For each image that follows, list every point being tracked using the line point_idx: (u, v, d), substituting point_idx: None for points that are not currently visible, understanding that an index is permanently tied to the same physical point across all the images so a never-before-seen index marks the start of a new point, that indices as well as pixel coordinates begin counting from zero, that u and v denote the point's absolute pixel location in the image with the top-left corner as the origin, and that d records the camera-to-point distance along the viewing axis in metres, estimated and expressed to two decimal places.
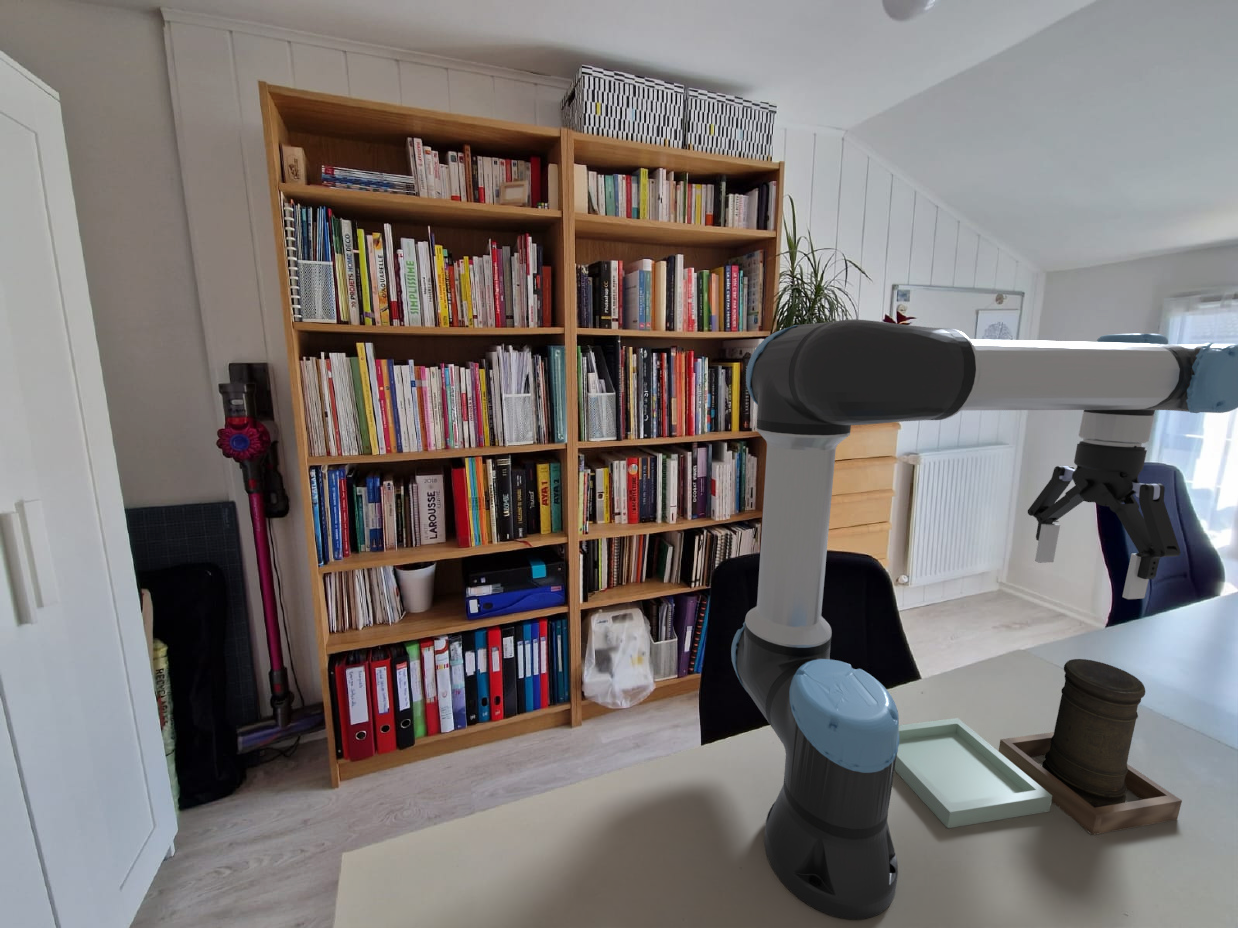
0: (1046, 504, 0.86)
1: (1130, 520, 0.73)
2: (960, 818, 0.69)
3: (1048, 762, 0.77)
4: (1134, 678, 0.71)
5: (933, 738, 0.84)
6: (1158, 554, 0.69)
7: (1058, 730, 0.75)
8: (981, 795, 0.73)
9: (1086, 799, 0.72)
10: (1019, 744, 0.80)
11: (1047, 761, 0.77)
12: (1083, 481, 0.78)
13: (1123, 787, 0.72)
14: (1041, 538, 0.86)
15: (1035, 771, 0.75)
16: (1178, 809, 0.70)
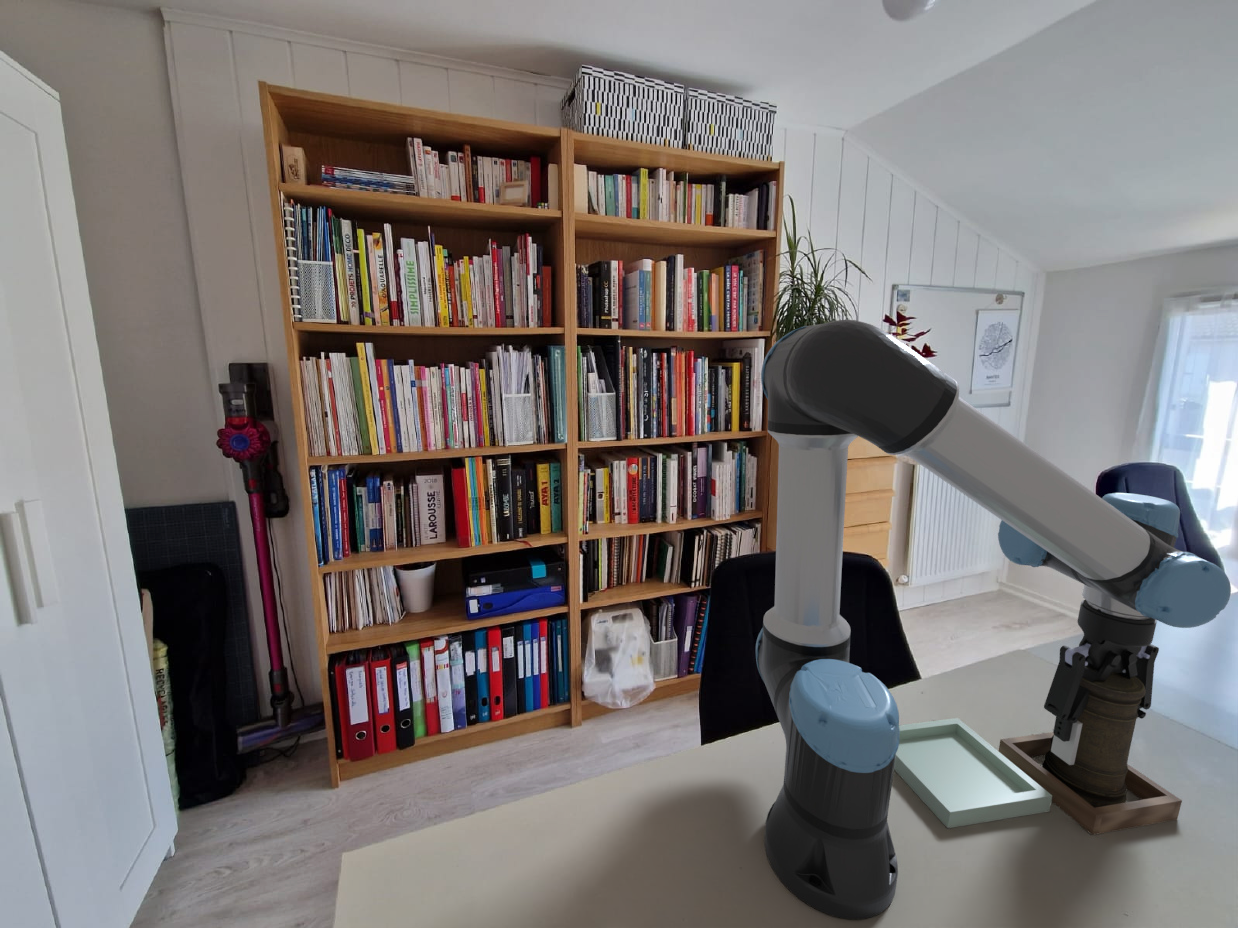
0: None
1: None
2: (960, 818, 0.69)
3: (1048, 762, 0.77)
4: (1134, 678, 0.72)
5: (933, 738, 0.84)
6: None
7: None
8: (981, 795, 0.73)
9: (1086, 799, 0.72)
10: (1019, 744, 0.80)
11: (1047, 761, 0.77)
12: None
13: (1123, 787, 0.72)
14: None
15: (1035, 771, 0.75)
16: (1178, 809, 0.70)
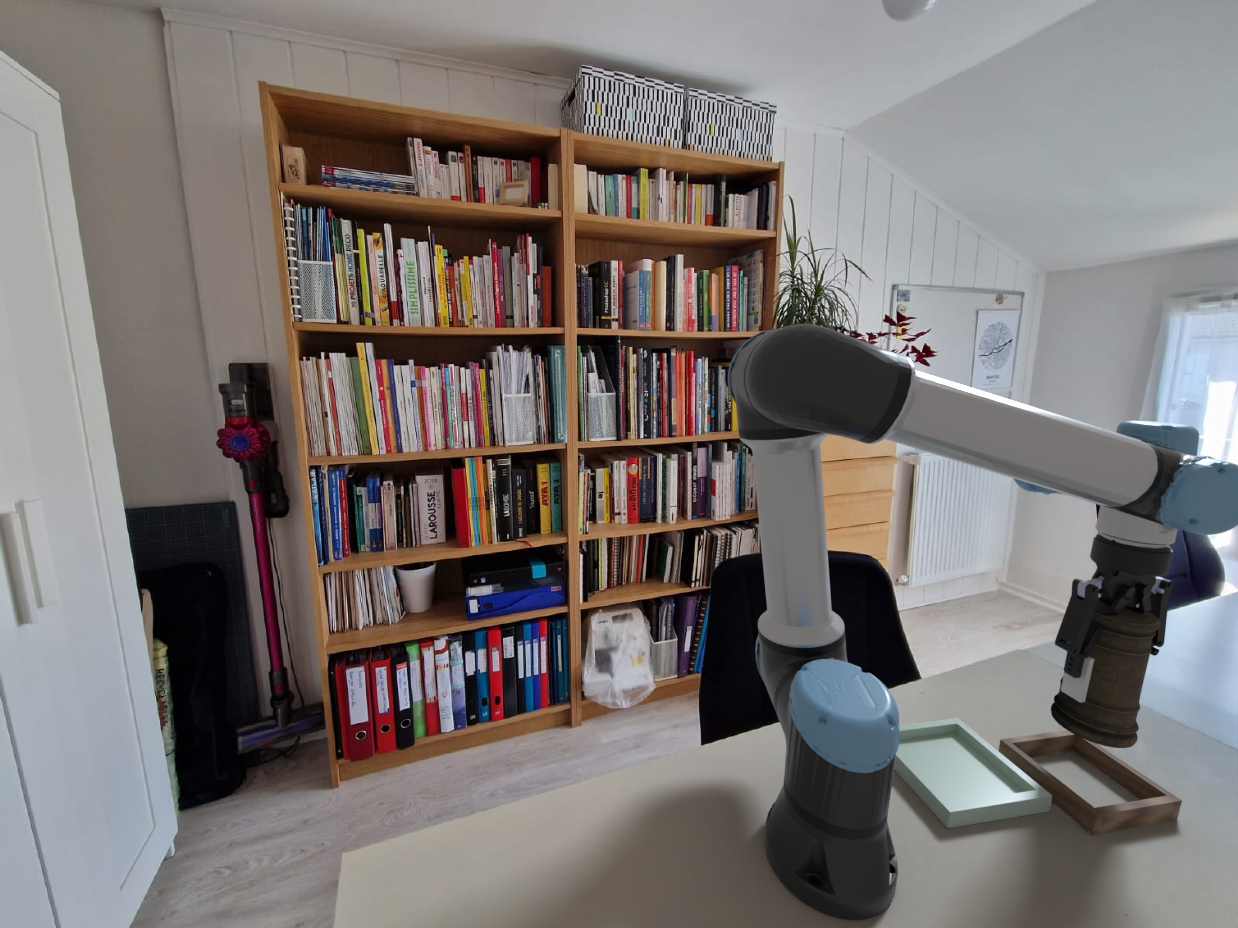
0: None
1: None
2: (960, 818, 0.69)
3: (1057, 703, 0.75)
4: (1148, 613, 0.70)
5: (933, 738, 0.84)
6: None
7: None
8: (981, 795, 0.73)
9: (1097, 737, 0.70)
10: (1019, 744, 0.80)
11: (1056, 702, 0.75)
12: None
13: (1135, 725, 0.70)
14: None
15: (1035, 771, 0.75)
16: (1178, 809, 0.70)
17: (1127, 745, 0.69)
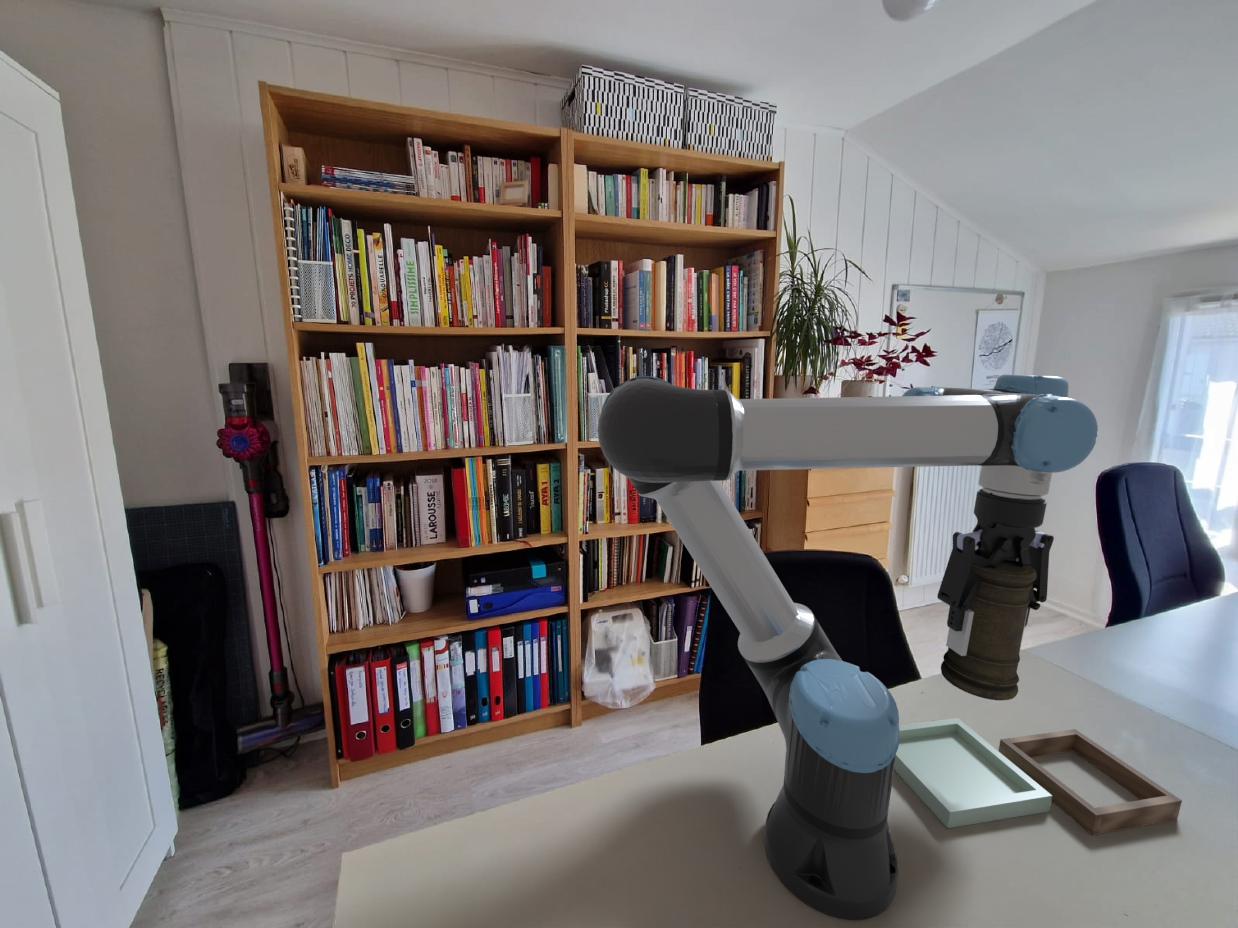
0: None
1: None
2: (960, 818, 0.69)
3: (945, 658, 0.75)
4: (1028, 566, 0.70)
5: (933, 738, 0.84)
6: None
7: None
8: (981, 795, 0.73)
9: (977, 689, 0.71)
10: (1019, 744, 0.80)
11: (945, 658, 0.76)
12: None
13: (1015, 678, 0.71)
14: None
15: (1035, 771, 0.75)
16: (1178, 809, 0.70)
17: (1005, 697, 0.70)
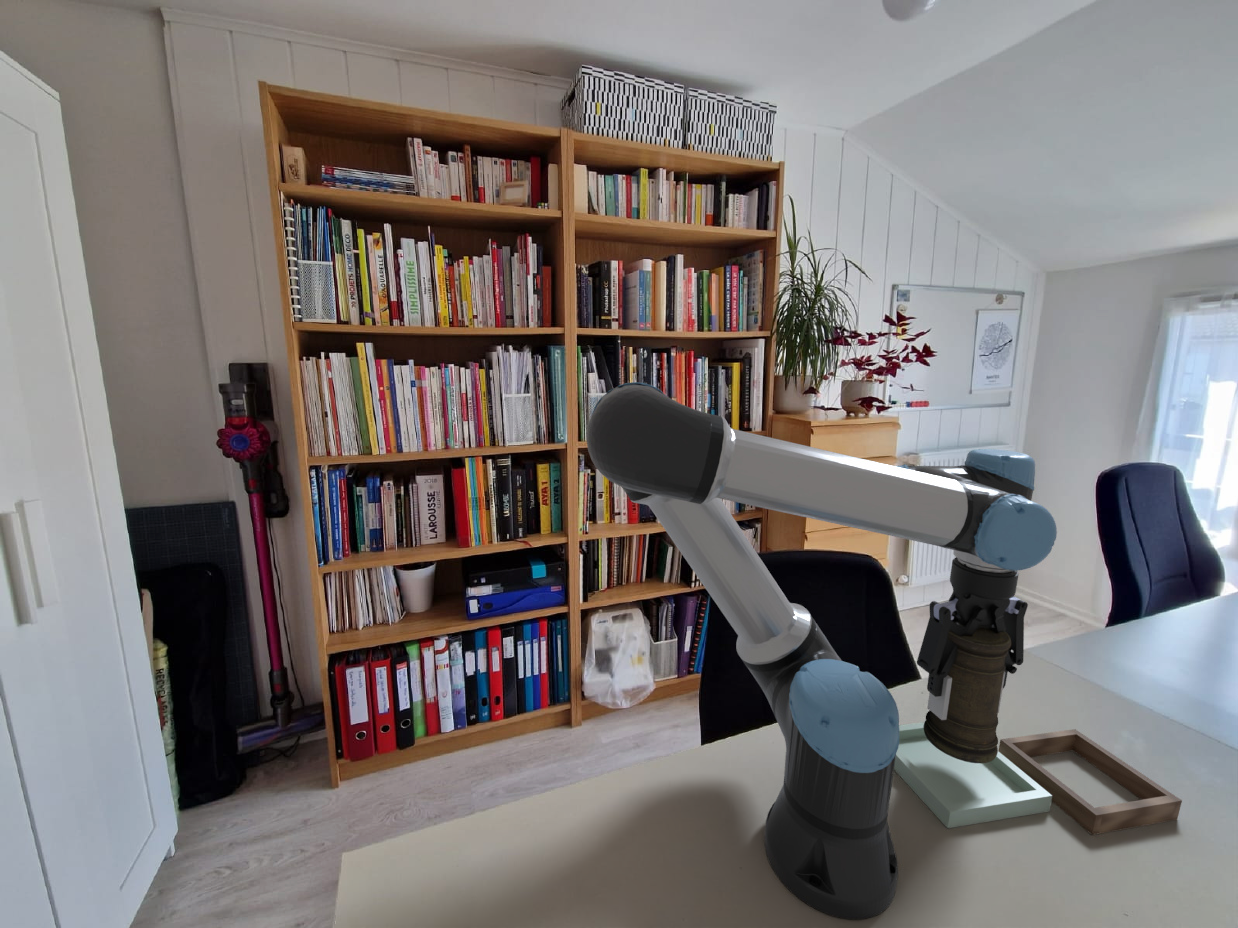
0: None
1: None
2: (960, 818, 0.69)
3: (927, 719, 0.77)
4: (1003, 632, 0.72)
5: None
6: None
7: None
8: (981, 795, 0.73)
9: (957, 753, 0.73)
10: (1019, 744, 0.80)
11: (927, 718, 0.78)
12: None
13: (993, 741, 0.73)
14: None
15: (1035, 771, 0.75)
16: (1178, 809, 0.70)
17: (985, 760, 0.72)
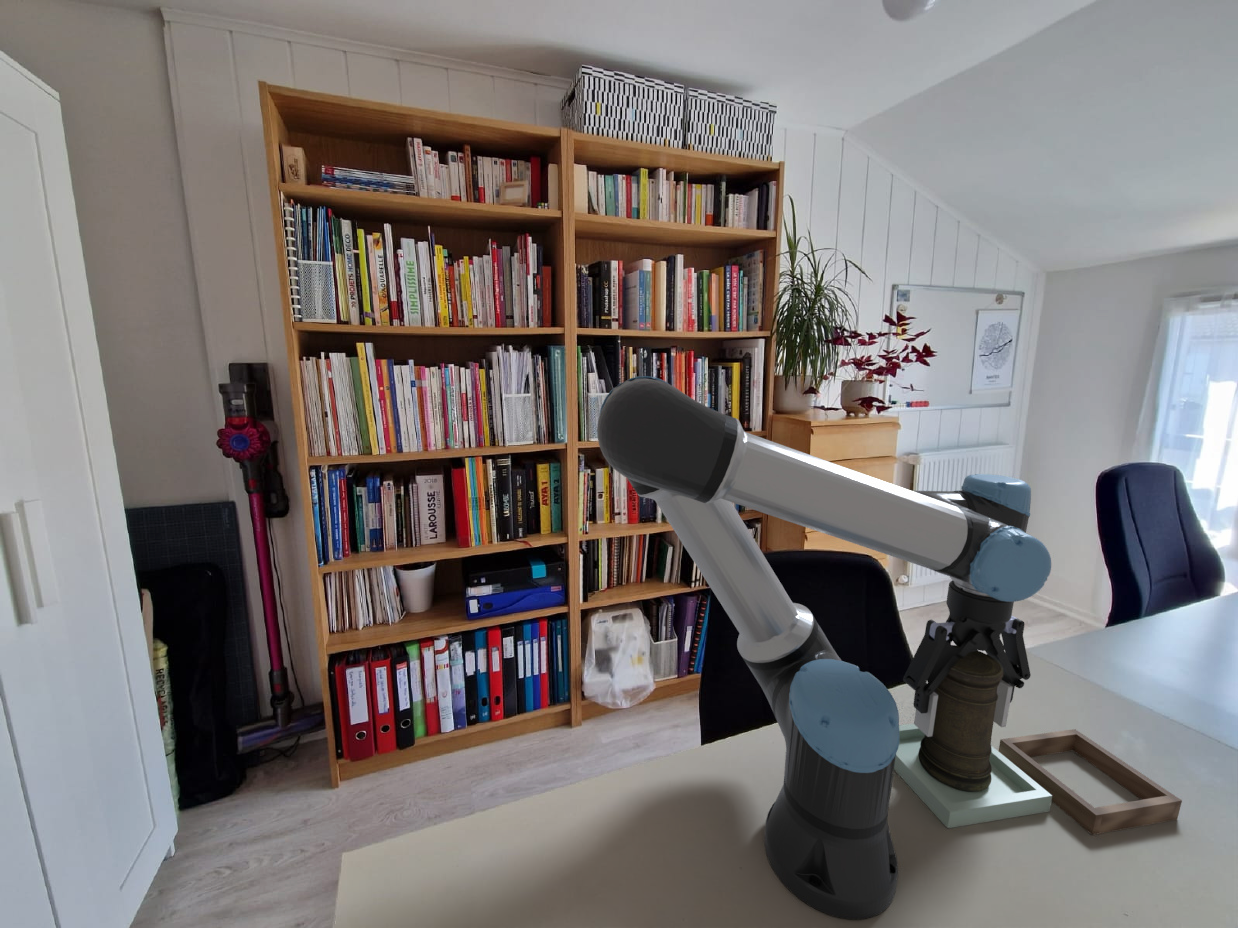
0: (1012, 660, 0.76)
1: None
2: (960, 818, 0.69)
3: (922, 746, 0.78)
4: (995, 662, 0.73)
5: None
6: None
7: None
8: (981, 795, 0.73)
9: (951, 781, 0.74)
10: (1019, 744, 0.80)
11: (921, 745, 0.79)
12: None
13: (987, 769, 0.74)
14: None
15: (1035, 771, 0.75)
16: (1178, 809, 0.70)
17: (979, 789, 0.73)
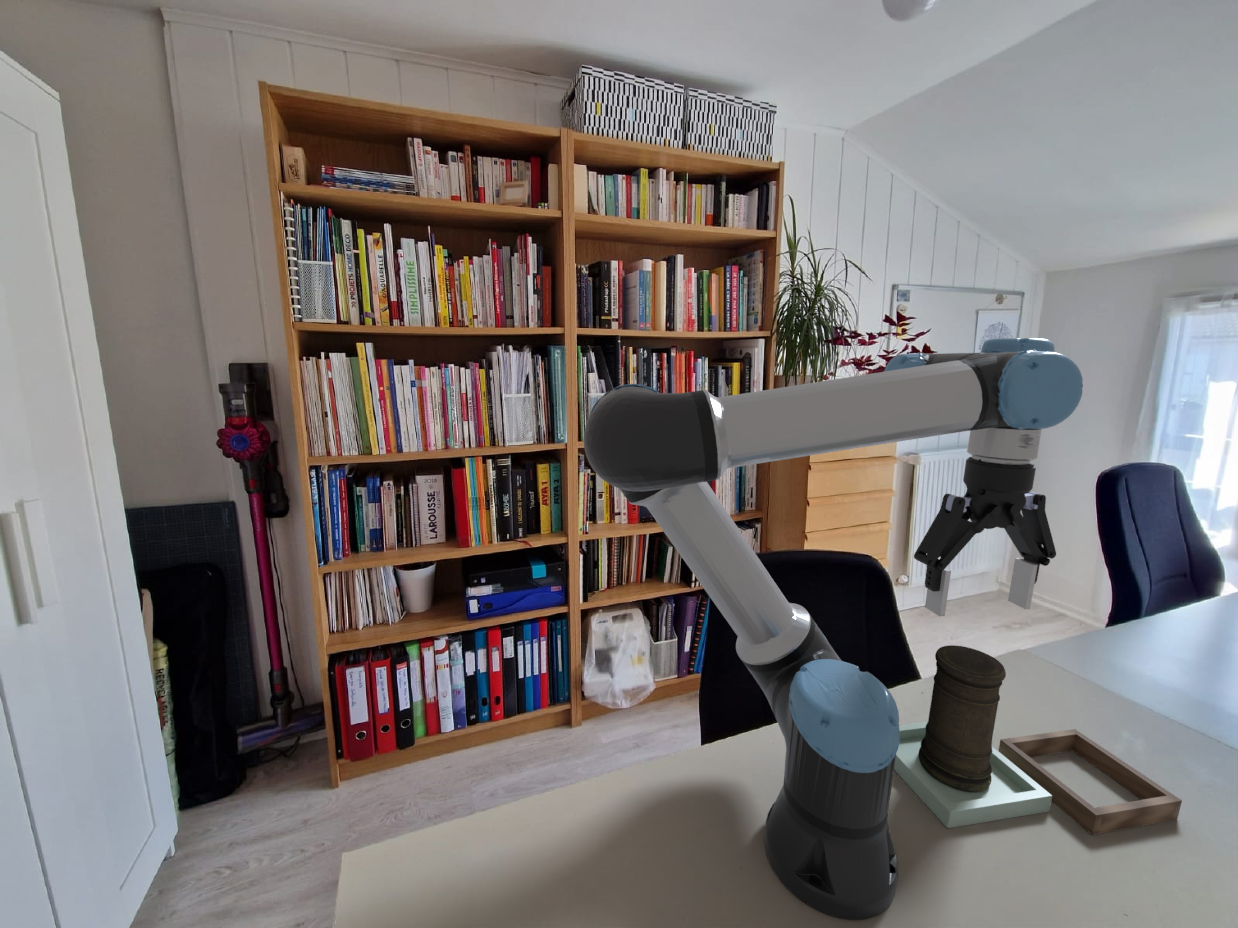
0: (1035, 539, 0.72)
1: None
2: (960, 818, 0.69)
3: (922, 746, 0.78)
4: (998, 663, 0.73)
5: None
6: None
7: (930, 715, 0.77)
8: (981, 795, 0.73)
9: (951, 781, 0.74)
10: (1019, 744, 0.80)
11: (922, 745, 0.79)
12: None
13: (987, 770, 0.74)
14: None
15: (1035, 771, 0.75)
16: (1178, 809, 0.70)
17: (979, 789, 0.73)
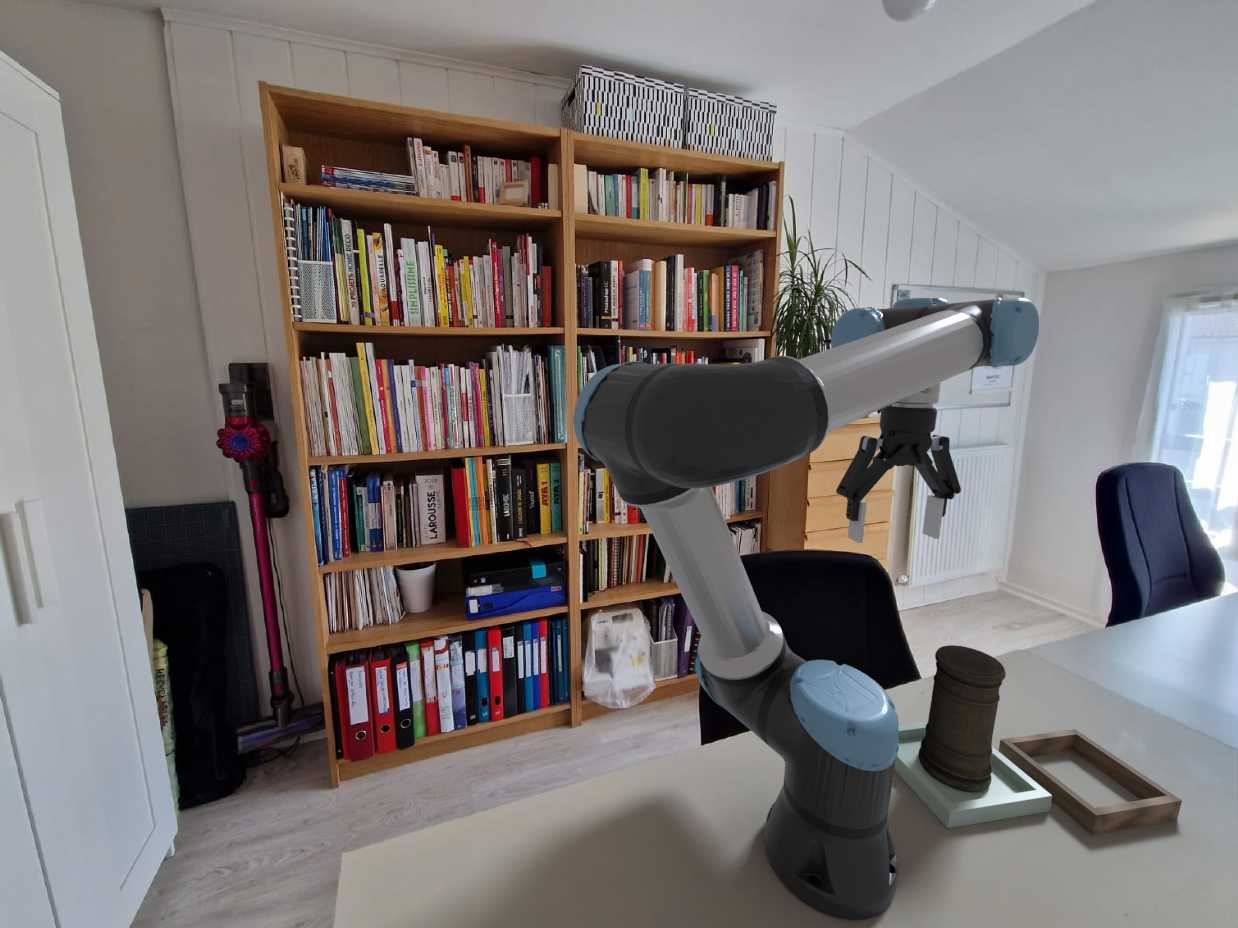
0: (944, 477, 0.83)
1: (866, 470, 0.81)
2: (960, 818, 0.69)
3: (922, 746, 0.78)
4: (998, 663, 0.73)
5: None
6: None
7: (930, 714, 0.77)
8: (981, 795, 0.73)
9: (951, 781, 0.74)
10: (1019, 744, 0.80)
11: (922, 745, 0.79)
12: None
13: (987, 770, 0.74)
14: None
15: (1035, 771, 0.75)
16: (1178, 809, 0.70)
17: (979, 789, 0.73)
